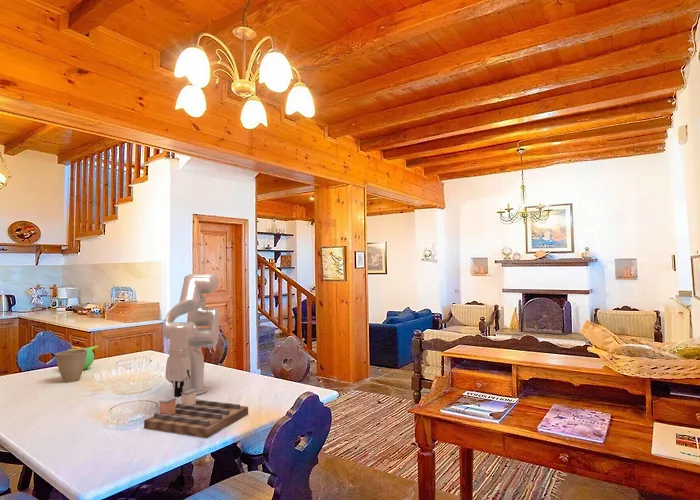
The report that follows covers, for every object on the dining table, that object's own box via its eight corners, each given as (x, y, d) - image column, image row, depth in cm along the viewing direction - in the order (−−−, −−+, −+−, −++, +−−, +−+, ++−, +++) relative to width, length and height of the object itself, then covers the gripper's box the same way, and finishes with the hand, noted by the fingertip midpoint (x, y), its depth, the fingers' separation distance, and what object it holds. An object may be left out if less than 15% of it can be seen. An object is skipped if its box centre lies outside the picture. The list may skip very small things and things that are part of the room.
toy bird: (54, 372, 251) (54, 348, 252) (76, 366, 268) (77, 343, 269) (80, 373, 248) (80, 348, 249) (101, 366, 265) (101, 343, 266)
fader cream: (181, 406, 175) (181, 392, 176) (190, 402, 180) (190, 388, 181) (187, 407, 174) (187, 392, 174) (196, 403, 179) (196, 389, 180)
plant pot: (80, 375, 243) (80, 348, 243) (91, 379, 234) (92, 351, 235) (50, 381, 230) (51, 352, 231) (61, 385, 222) (61, 355, 222)
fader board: (143, 427, 161) (144, 415, 161) (190, 406, 185) (190, 396, 186) (207, 437, 151) (207, 424, 151) (248, 413, 175) (248, 402, 175)
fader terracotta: (159, 416, 164) (159, 400, 164) (169, 411, 169) (169, 396, 169) (166, 417, 163) (166, 401, 163) (176, 412, 168) (176, 397, 168)
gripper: (158, 354, 179) (158, 397, 178) (186, 356, 174) (186, 400, 173) (171, 350, 186) (171, 392, 185) (198, 352, 181) (198, 395, 180)
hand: (178, 396), depth 179 cm, fingers closed
